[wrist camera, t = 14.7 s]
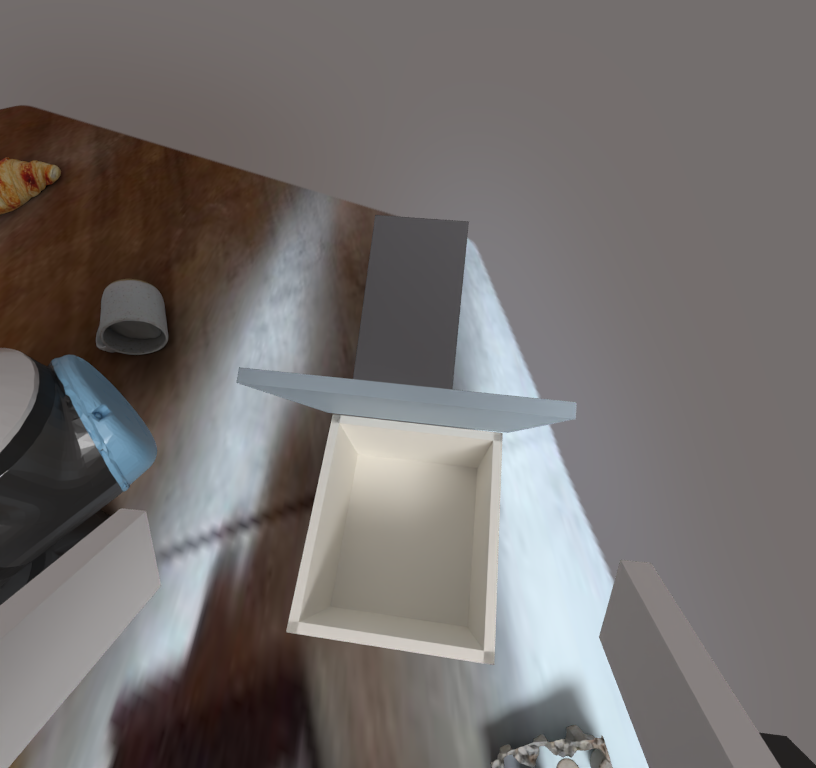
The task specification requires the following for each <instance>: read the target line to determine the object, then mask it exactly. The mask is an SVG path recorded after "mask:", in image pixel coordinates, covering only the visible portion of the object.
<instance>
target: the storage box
mask: <svg viewBox="0 0 816 768" xmlns="http://www.w3.org/2000/svg"><path fill="white" fill-rule="evenodd" d="M501 460H502V433H496V432H487V431H478V430H469V429H460V428H452V427H443V426H434V425H425V424H416V423H407V422H398V421H389V420H380V419H371V418H362V417H353V416H344V415H335V414H333V416H332V420H331V425H330V430H329V434H328V439H327V444H326V448H325V453H324V458H323V462H322V467H321V472H320V476H319V481H318V486H317V490H316V495H315V500H314V504H313V509H312V514H311V519H310V523H309V528H308V533H307V537H306V542H305V547H304V551H303V556H302V561H301V565H300V570H299V575H298V579H297V584H296V589H295V593H294V598H293V603H292V607H291V612H290V617H289V621H288V626H287V631H286V632H289V633H295V634H301V635H307V636H314V637H320V638H326V639H333V640H339V641H345V642H352V643H358V644H364V645H371V646H377V647H383V648H390V649H396V650H402V651H409V652H415V653H421V654H428V655H434V656H440V657H447V658H453V659H459V660H466V661H472V662H478V663H484V664H491V665H494V658H495V629H496V601H497V573H498V545H499V517H500V488H501Z"/></svg>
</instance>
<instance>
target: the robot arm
mask: <svg viewBox="0 0 816 768" xmlns="http://www.w3.org/2000/svg"><path fill="white" fill-rule="evenodd" d="M156 454H157V447H156V443H155V441H154V438H153V436H152V434H151V433H150V431H149V429H148V428H147V426H146V425H145V423H144V422H143V420H142V419H141V418H140V416H139V415H138V414H137V412H136V411H135V410H134V409H133V407H132V406H131V405H130V404H129V402H128V401H127V400H126V399H125V398H124V397H123V396H122V394H121V393H120V392H119V391H118V390H117V389H116V388H115V387H114V386H113V385H112V384H111V383H110V382H109V381H108V380H107V379H106V378H105V377H104V376H103V375H102V374H101V373H100V372H99V371H98V370H96V369H95V368H94V367H93V366H92V365H91V364H89V363H88V362H87V361H85V360H84V359H82V358H80V357H76V356H75V355H65V356H62V357H60V358H55V359H53V360H52V361H51V363H50V364H49V365H48V366H45V365H43V364H41V363H39V362H37V361H36V360H34V359H32V358H30V357H29V356H27V355H25V354H24V353H22V352H20V351H17V350H14V349H8V348H0V768H8V767H9V766H10V765H11V764H12V763H13V761H14V760H15V759H16V758H17V757H18V755H19V754H20V753H21V752H22V751H23V749H24V748H25V747H26V746H27V745H28V744H29V742H30V741H31V740H32V739H33V738H34V736H35V735H36V734H37V733H38V732H39V730H40V729H41V728H42V727H43V726H44V725H45V723H46V722H47V721H48V720H49V719H50V717H51V716H52V715H53V714H54V713H55V711H56V710H57V709H58V708H59V707H60V706H61V704H62V703H63V702H64V701H65V700H66V698H67V697H68V696H69V695H70V694H71V692H72V691H73V690H74V689H75V688H76V686H77V685H78V684H79V683H80V682H81V681H82V679H83V678H84V677H85V676H86V675H87V673H88V672H89V671H90V670H91V669H92V667H93V666H94V665H95V664H96V663H97V662H98V660H99V659H100V658H101V657H102V656H103V654H104V653H105V652H106V651H107V650H108V648H109V647H110V646H111V645H112V644H113V643H114V641H115V640H116V639H117V638H118V637H119V635H120V634H121V633H122V632H123V631H124V629H125V628H126V627H127V626H128V625H129V623H130V622H131V621H132V620H133V619H134V618H135V616H136V615H137V614H138V613H139V612H140V610H141V609H142V608H143V607H144V606H145V604H146V603H147V602H148V601H149V600H150V599H151V597H152V596H153V595H154V594H155V593H156V591H157V590H158V589H159V588H160V587H161V582H160V577H159V573H158V568H157V563H156V558H155V553H154V548H153V543H152V538H151V533H150V528H149V523H148V518H147V513H146V511H142V510H132V509H122V508H121V509H119V510H118V511H117V512H116V513H114V514H113V515H112V516H111V517H110V516H109V515H107V514H106V513H105V512H103V511H101V510H100V509H101V508H102V507H104V506H105V505H106V504H108V503H109V502H110V501H112V500H113V499H114V498H116V497H117V496H118V495H119V494H121V493H122V492H123V491H126V490H127V489H128V488H129V487H130V484H131V483H133V482H134V481H135V480H136V479H137V478H138V477H139V476H140V475H142V474H143V473H144V472H145V471H146V470H147V469H148V468H149V467H151V465H152V464H153V462H154V460H155V458H156ZM599 638H600V641H601V643H602V646H603V649H604V651H605V654H606V656H607V659H608V662H609V664H610V667H611V669H612V672H613V675H614V677H615V680H616V682H617V685H618V688H619V690H620V693H621V695H622V698H623V701H624V703H625V706H626V709H627V711H628V714H629V716H630V719H631V722H632V724H633V727H634V729H635V732H636V735H637V737H638V740H639V742H640V745H641V748H642V750H643V753H644V755H645V758H646V761H647V763H648V766H649V768H816V765H815V764H814V763H813V762H812V761H811V760H810V759H809V758H808V757H807V756H806V755H805V754H804V753H803V752H802V751H801V750H800V749H799V748H798V747H797V746H796V745H795V744H794V743H792V741H791V740H790V739H789V738H787V736H780V735H773V734H765V733H759V732H758V731H757V729H756V728H755V726H754V724H753V723H752V721H751V720H750V718H749V717H748V715H747V713H746V712H745V710H744V709H743V707H742V706H741V704H740V702H739V701H738V699H737V698H736V696H735V695H734V693H733V691H732V690H731V688H730V687H729V685H728V684H727V682H726V680H725V679H724V677H723V676H722V674H721V673H720V671H719V669H718V668H717V666H716V665H715V663H714V662H713V660H712V658H711V657H710V655H709V654H708V652H707V650H706V649H705V647H704V646H703V644H702V643H701V641H700V639H699V638H698V636H697V635H696V633H695V632H694V630H693V628H692V627H691V625H690V624H689V622H688V621H687V619H686V617H685V616H684V614H683V613H682V611H681V610H680V608H679V606H678V605H677V603H676V602H675V600H674V599H673V597H672V595H671V594H670V592H669V591H668V589H667V588H666V586H665V584H664V583H663V581H662V580H661V578H660V577H659V575H658V573H657V572H656V570H655V569H654V567H653V566H652V564H651V563H647V562H637V561H627V560H620V563H619V567H618V571H617V575H616V578H615V581H614V585H613V589H612V592H611V596H610V600H609V603H608V607H607V610H606V614H605V618H604V621H603V625H602V628H601V632H600V636H599Z"/></svg>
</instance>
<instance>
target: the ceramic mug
mask: <svg viewBox="0 0 816 768" xmlns="http://www.w3.org/2000/svg"><path fill="white" fill-rule="evenodd" d="M167 342H168V330H167V321H166V314H165V305H164V300H163V298H162V295H161V293H160V292H159V291H158V289H157V288H155V287H154V286H153V285H151V284H149V283H147V282H144V281H141V280H136V279H122V280H117V281H114V282H112V283H111V284H109V285H108V286H107V287H106V288H105V290H104V292H103V296H102V300H101V317H100V326H99V328H98V331H97V335H96V345H97V347H98V348H99V349H101V350H104V351H107V352H111V353H114V352H119V353H123V354H129V355H142V354H148V353H153V352H156V351H158V350H160V349H162V348H163V347H164V346H165V345H166V344H167Z"/></svg>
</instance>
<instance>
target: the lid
mask: <svg viewBox="0 0 816 768" xmlns="http://www.w3.org/2000/svg"><path fill="white" fill-rule="evenodd" d="M468 223H469V222H466V221H453V220H438V219H424V218H409V217H396V216H381V215H375V222H374V229H373V236H372V244H371V251H370V258H369V266H368V273H367V280H366V287H365V295H364V302H363V309H362V317H361V324H360V331H359V339H358V346H357V353H356V361H355V368H354V375H353V379H346V378H336V377H327V376H317V375H307V374H298V373H288V372H279V371H269V370H259V369H250V368H240V367H239V371H238V376H237V382H236V383H239V384H242V385H245V386H248V387H251V388H254V389H257V390H260V391H263V392H266V393H270V394H273V395H276V396H279V397H282V398H285V399H288V400H291V401H294V402H297V403H300V404H303V405H306V406H309V407H312V408H315V409H318V410H321V411H324V412H327V413H335V414H344V415H353V416H362V417H371V418H380V419H389V420H398V421H407V422H416V423H425V424H434V425H443V426H452V427H461V428H470V429H479V430H488V431H497V432H506V433H509V432H514V431H519V430H524V429H529V428H534V427H539V426H544V425H548V424H553V423H558V422H563V421H568V420H573V419H576V402H566V401H556V400H548V399H538V398H529V397H519V396H510V395H500V394H490V393H481V392H471V391H461V390H452V385H453V375H454V365H455V355H456V345H457V335H458V325H459V315H460V305H461V295H462V284H463V274H464V264H465V254H466V244H467V233H468Z"/></svg>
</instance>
